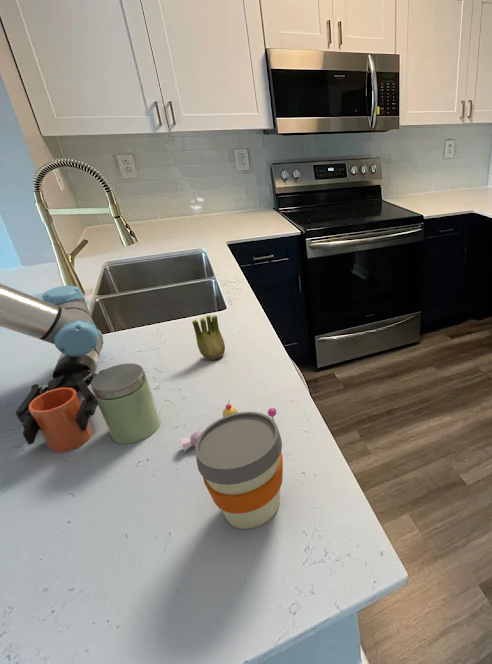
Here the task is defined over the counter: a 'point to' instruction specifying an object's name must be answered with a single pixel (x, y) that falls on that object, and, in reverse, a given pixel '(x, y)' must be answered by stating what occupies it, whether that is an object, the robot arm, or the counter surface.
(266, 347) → the counter surface
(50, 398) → the cup
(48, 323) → the robot arm
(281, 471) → the reusable coffee cup
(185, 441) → the candy
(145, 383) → the jar
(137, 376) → the jar lid
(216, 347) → the fennel bulb
